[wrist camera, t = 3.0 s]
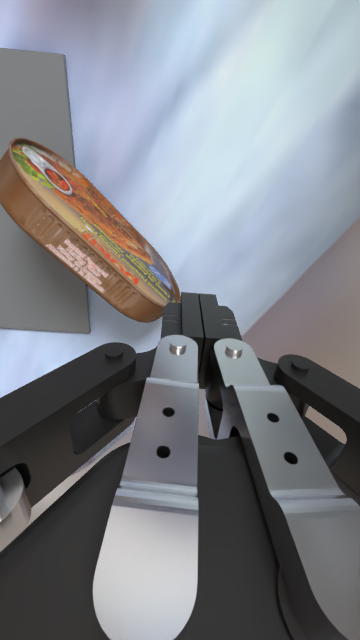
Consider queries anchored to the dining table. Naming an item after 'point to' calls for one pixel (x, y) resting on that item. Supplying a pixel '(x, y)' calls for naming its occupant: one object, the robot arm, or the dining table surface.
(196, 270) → the dining table surface
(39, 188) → the tin
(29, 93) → the mat
